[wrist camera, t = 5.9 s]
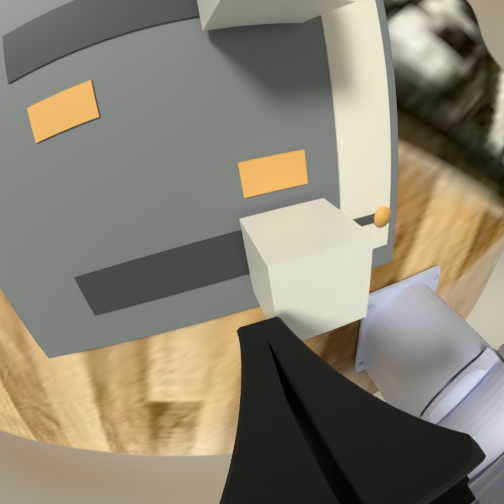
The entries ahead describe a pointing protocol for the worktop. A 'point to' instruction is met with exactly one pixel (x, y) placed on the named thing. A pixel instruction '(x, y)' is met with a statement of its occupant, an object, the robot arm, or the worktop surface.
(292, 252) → the white cube
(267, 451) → the robot arm
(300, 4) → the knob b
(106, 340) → the switch unit
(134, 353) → the worktop surface
